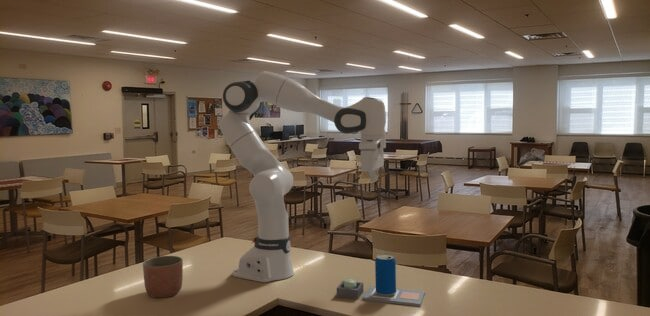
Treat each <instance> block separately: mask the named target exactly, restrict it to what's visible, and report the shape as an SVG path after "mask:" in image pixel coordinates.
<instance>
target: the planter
mask: <svg viewBox="0 0 650 316" xmlns="http://www.w3.org/2000/svg"><path fill="white" fill-rule="evenodd" d="M183 264H184V263H183V258H182V257H181V256H177V255H161V256H160V255H159V256H155V257H151V258H148V259H146V260H145V261H143V262H142V270H143V282H144V288H145V292H146V293H147V295H148V296H150V297H153V298H157V299H159V298H162V297H163V298H168V297H172V296H175V295H177V294H178V293H179V292H180V291H181V289H182V286H183V277H184V275H183V272H184V271H183V270H184V269H183V267H184V266H183Z"/></svg>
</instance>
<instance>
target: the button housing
mask: <svg viewBox="0 0 650 316" xmlns="http://www.w3.org/2000/svg"><path fill="white" fill-rule="evenodd" d="M363 293H364V282H359V281H356V289H351V288H344V280H342V281H341V282H340V284H338V285H337V287H336V297H337V298H342V299H351V300H352V299H353V300H359V298H360V297H361V296H362V294H363Z"/></svg>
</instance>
